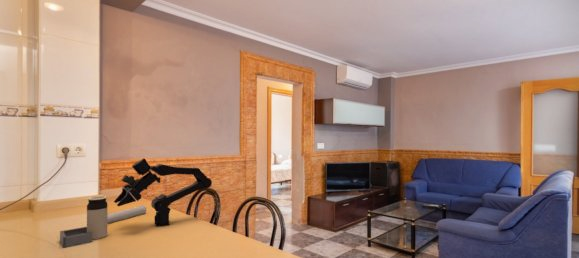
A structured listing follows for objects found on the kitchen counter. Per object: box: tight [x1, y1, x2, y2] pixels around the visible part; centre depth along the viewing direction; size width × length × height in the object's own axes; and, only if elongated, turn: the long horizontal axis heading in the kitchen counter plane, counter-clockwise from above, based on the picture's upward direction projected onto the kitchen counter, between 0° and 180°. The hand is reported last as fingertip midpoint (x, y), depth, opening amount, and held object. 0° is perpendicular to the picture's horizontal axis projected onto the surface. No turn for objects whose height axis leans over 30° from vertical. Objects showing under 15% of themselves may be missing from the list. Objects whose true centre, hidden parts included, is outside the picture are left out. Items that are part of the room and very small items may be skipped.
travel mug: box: [86, 195, 108, 241], centre depth 139 cm, size 8×8×18 cm
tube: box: [107, 204, 147, 225], centre depth 170 cm, size 5×5×25 cm
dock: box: [59, 226, 93, 249], centre depth 134 cm, size 10×12×4 cm
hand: (115, 203), depth 146 cm, fingers open, 9 cm apart
